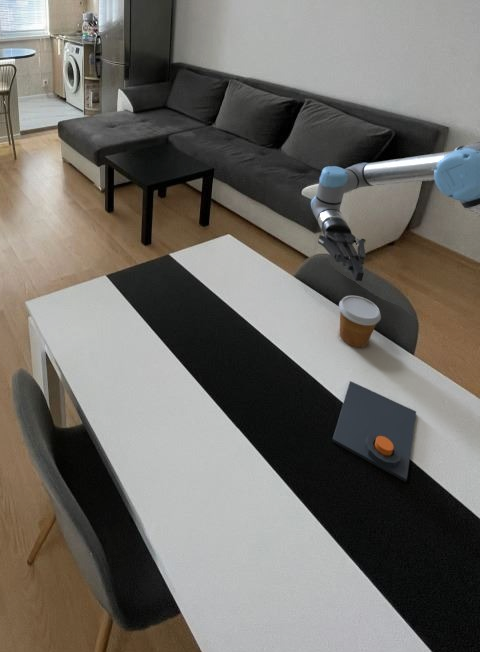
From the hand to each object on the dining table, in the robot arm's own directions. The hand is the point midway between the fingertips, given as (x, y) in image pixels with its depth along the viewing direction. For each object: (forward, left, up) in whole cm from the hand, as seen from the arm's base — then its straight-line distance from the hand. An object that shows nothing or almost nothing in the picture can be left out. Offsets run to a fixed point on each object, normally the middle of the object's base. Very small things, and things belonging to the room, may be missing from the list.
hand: (359, 276), depth 116 cm
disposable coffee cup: (+3, +4, -18) cm, 19 cm away
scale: (+18, +26, -18) cm, 36 cm away
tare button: (+21, +32, -14) cm, 41 cm away
